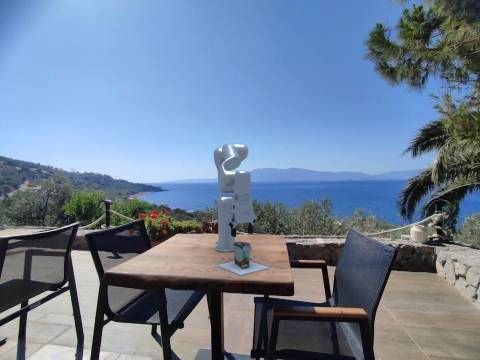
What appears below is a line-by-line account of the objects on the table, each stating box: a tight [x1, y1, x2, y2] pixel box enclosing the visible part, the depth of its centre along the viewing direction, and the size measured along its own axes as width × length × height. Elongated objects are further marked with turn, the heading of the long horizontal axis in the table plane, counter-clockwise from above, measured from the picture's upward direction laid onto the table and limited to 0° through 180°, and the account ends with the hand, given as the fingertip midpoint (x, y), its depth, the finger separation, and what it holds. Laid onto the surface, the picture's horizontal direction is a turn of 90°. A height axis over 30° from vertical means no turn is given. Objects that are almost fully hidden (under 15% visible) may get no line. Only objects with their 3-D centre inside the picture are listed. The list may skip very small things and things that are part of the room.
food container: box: [233, 241, 252, 269], centre depth 128 cm, size 12×6×10 cm, turn 22°
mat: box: [216, 260, 270, 277], centre depth 127 cm, size 18×16×1 cm
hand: (242, 235), depth 128 cm, fingers open, 9 cm apart
